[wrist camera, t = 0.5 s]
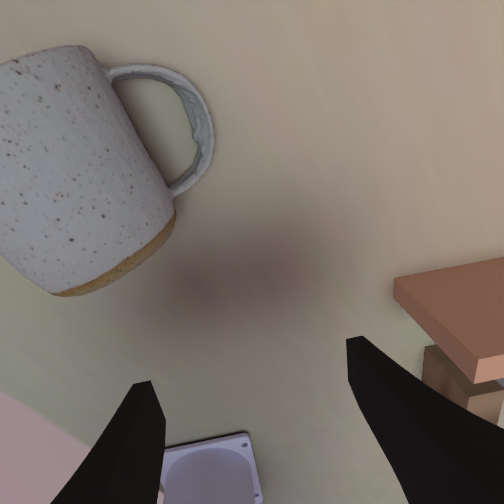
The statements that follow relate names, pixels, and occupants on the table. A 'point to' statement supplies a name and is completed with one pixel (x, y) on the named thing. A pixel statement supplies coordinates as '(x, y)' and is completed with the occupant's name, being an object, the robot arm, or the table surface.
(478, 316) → the picture frame
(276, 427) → the table surface
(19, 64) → the ceramic mug
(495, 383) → the bronze rectangular prism
